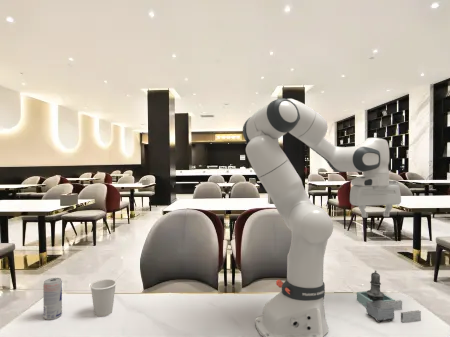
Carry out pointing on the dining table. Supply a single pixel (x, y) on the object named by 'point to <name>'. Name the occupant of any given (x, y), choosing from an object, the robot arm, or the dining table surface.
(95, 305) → the dixie cup
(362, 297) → the tray
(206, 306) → the dining table surface
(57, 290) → the energy drink
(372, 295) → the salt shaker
